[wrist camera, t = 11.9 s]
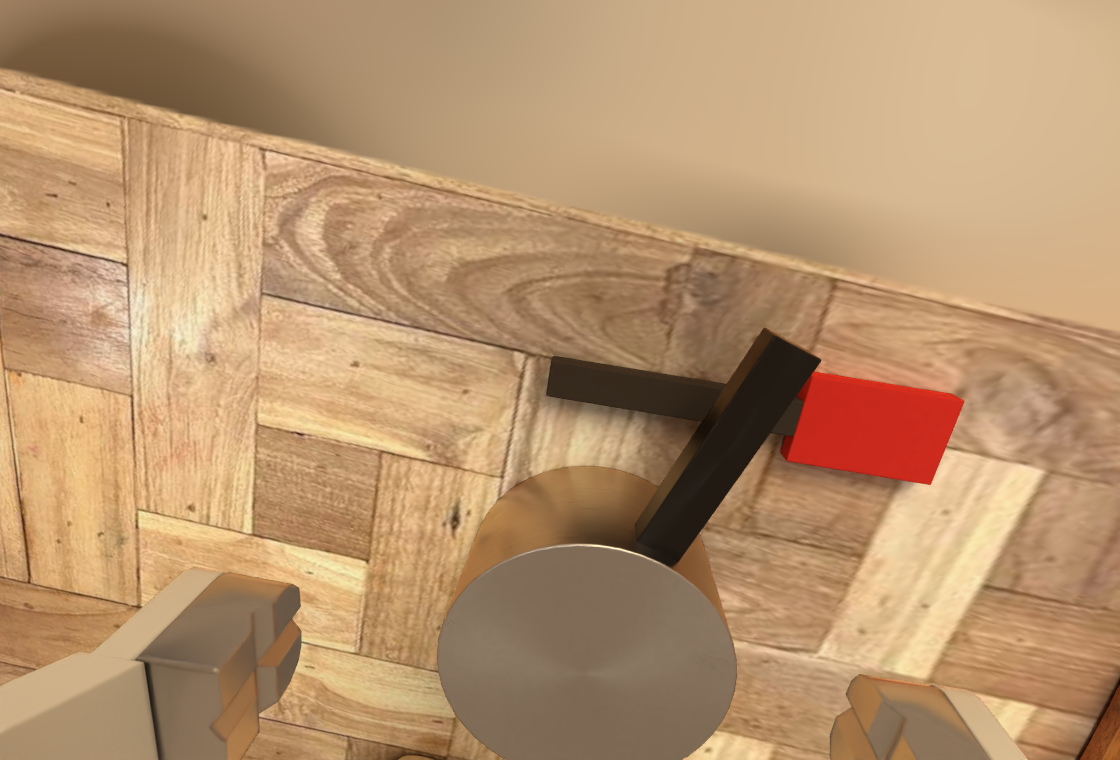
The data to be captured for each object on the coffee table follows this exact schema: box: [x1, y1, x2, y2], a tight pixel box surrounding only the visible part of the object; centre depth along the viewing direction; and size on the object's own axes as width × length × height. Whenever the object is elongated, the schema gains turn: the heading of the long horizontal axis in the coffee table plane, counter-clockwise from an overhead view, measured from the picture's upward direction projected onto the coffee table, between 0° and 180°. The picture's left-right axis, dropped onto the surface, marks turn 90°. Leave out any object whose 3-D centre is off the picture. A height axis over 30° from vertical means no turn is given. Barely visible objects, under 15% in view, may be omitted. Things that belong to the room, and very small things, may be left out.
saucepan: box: [437, 328, 821, 760], centre depth 25 cm, size 23×13×7 cm, turn 153°
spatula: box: [546, 356, 964, 485], centre depth 26 cm, size 4×19×1 cm, turn 82°
